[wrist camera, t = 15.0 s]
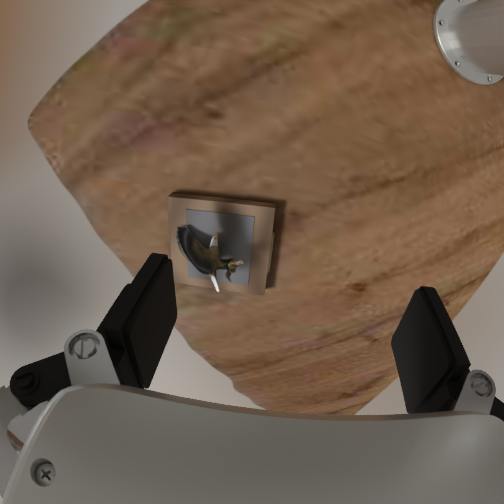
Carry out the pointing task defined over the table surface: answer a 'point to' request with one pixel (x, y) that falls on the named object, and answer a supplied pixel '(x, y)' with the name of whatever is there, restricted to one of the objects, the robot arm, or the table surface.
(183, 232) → the eagle figurine
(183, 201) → the wooden picture frame
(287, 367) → the table surface
